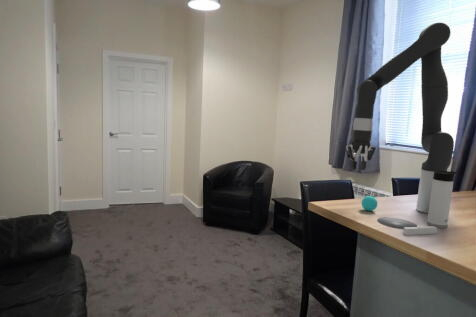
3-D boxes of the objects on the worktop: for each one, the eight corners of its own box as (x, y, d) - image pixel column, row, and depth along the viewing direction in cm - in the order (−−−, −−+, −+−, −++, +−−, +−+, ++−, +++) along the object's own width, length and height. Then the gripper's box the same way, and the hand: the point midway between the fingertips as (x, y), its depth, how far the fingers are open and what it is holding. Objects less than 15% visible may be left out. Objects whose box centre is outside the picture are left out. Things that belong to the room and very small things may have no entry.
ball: (370, 208, 141) (371, 194, 140) (379, 212, 135) (381, 197, 134) (357, 208, 139) (359, 194, 138) (366, 212, 133) (368, 198, 132)
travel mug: (451, 229, 118) (459, 173, 115) (430, 227, 119) (438, 171, 117) (444, 224, 124) (451, 170, 122) (424, 222, 125) (431, 168, 123)
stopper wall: (432, 231, 114) (433, 226, 114) (436, 233, 113) (437, 227, 112) (403, 233, 111) (403, 227, 110) (406, 234, 109) (407, 228, 109)
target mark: (398, 217, 130) (399, 216, 130) (426, 228, 117) (426, 228, 117) (369, 218, 126) (370, 217, 126) (394, 229, 114) (394, 229, 114)
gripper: (353, 129, 136) (348, 171, 139) (382, 130, 140) (378, 171, 142) (342, 128, 144) (338, 168, 146) (371, 129, 147) (366, 168, 150)
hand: (358, 169), depth 144 cm, fingers open, 3 cm apart
